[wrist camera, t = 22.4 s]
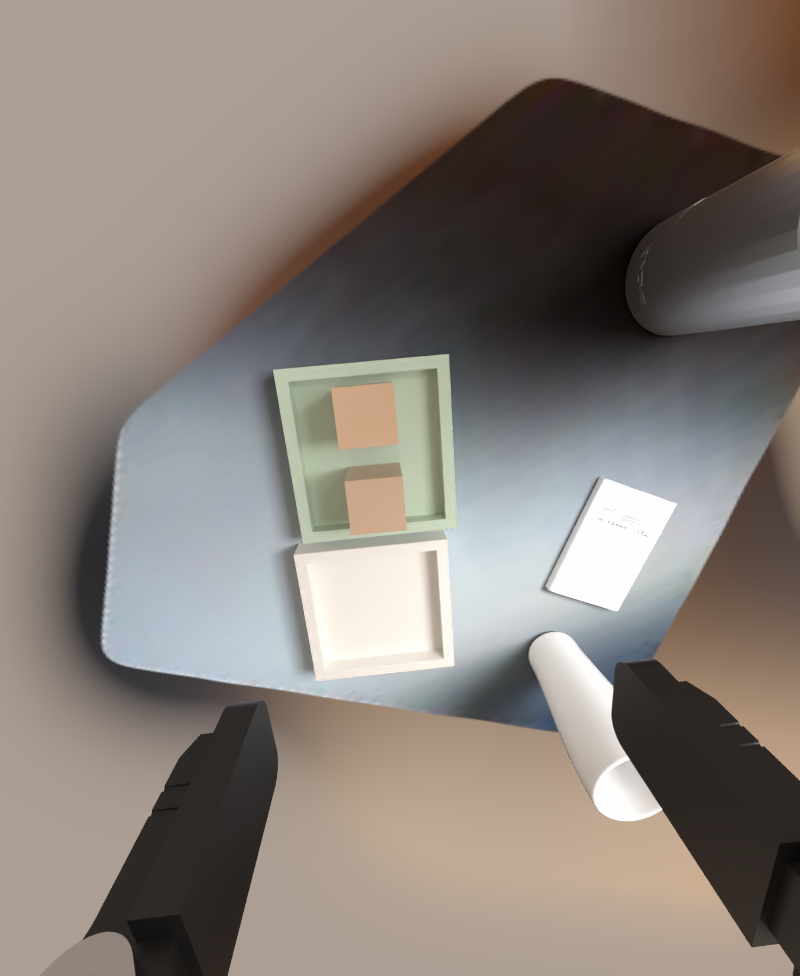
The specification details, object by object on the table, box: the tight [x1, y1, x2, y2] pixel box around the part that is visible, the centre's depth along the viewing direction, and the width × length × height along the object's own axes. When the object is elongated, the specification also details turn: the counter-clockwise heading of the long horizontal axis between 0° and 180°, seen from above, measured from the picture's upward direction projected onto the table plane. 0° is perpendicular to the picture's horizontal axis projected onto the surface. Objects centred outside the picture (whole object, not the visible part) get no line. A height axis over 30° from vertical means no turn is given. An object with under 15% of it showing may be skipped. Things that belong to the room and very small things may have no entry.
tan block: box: [344, 462, 407, 535], centre depth 33 cm, size 4×4×5 cm
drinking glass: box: [528, 632, 662, 821], centre depth 36 cm, size 7×7×15 cm
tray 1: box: [273, 354, 457, 544], centre depth 34 cm, size 14×15×2 cm
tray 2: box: [294, 530, 454, 681], centre depth 39 cm, size 14×14×2 cm
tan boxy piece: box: [331, 382, 399, 450], centre depth 31 cm, size 4×4×5 cm
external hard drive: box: [545, 477, 677, 611], centre depth 39 cm, size 2×8×12 cm
